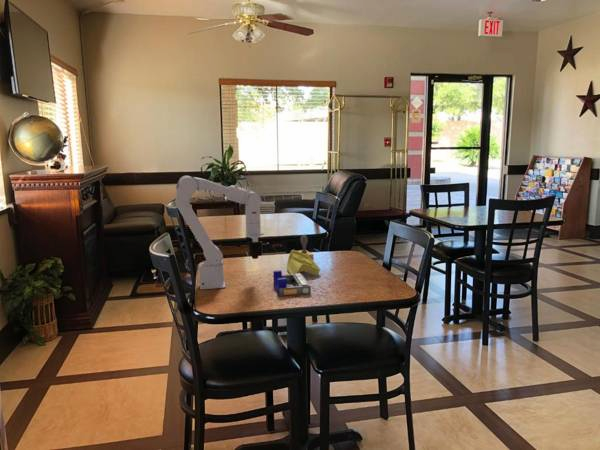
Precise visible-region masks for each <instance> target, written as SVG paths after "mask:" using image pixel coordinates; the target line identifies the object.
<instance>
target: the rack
mask: <svg viewBox="0 0 600 450" xmlns="http://www.w3.org/2000/svg"><path fill="white" fill-rule="evenodd" d="M272 278H273V279H272V280H273V281H274V275H273V276H272ZM282 278H286V284H288V283H293V285H294V286H291V287H282V288H279V293H280V295H279V297H286V296H288V297H289V296H290V297H291V296H302V295H311V294H312V293H311V288H312V287H311V284H310V283H309V282H308V281H307V279H306V278H305V276H304V275H303V274H302V273H301V272H300V273H297V274H282Z"/></svg>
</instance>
